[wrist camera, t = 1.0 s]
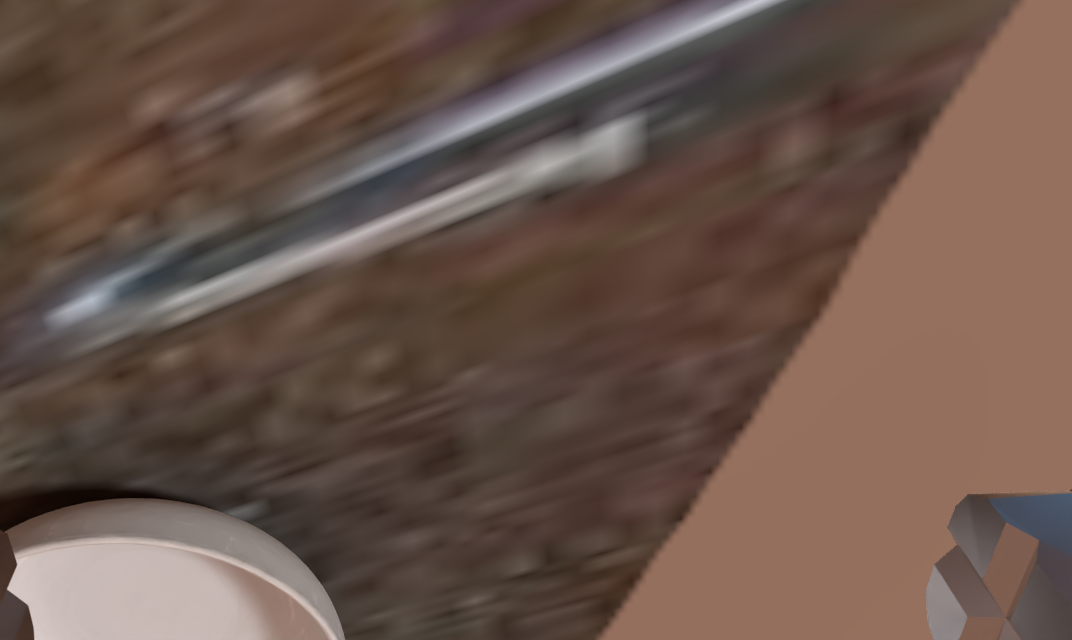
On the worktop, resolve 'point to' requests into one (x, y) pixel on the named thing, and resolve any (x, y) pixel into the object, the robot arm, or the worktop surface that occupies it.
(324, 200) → the worktop surface
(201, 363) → the worktop surface
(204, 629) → the serving bowl
